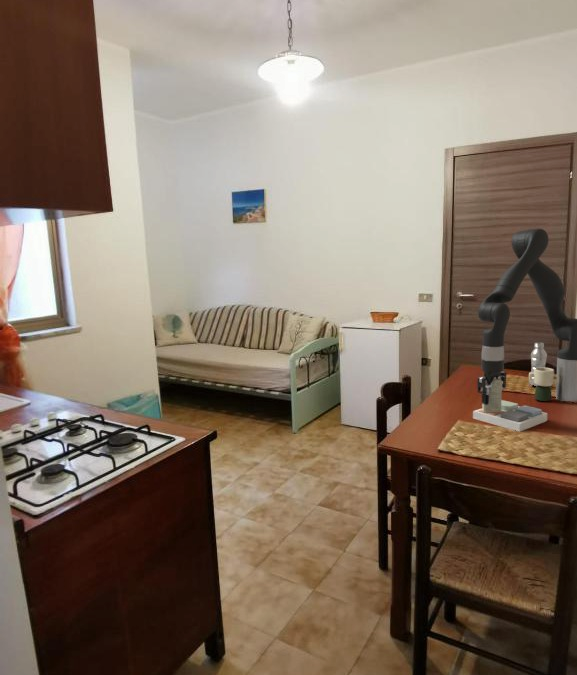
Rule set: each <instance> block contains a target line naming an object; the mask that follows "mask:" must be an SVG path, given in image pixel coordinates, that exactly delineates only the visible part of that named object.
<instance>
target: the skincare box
mask: <svg viewBox="0 0 577 675" xmlns="http://www.w3.org/2000/svg"><path fill="white" fill-rule="evenodd" d="M502 384H503V381H502V380H501V379H496V380H495V382H494V384H493V387H492V389H490V391H489V394H488V395H489V404H487V405H485V404H482V403H481V407H482V409H483V412H496V413H497V412H500V413H501V400H502V394H503V393H502V391H503V390H502ZM486 386H489V384H488V383H487V380H486ZM486 390H487V388H486ZM501 393H502V394H501Z"/></svg>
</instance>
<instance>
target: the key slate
mask: <svg viewBox="0 0 577 675" xmlns="http://www.w3.org/2000/svg"><path fill="white" fill-rule="evenodd" d="M515 411H517V412H521V413H525V414H528V416H529V417H534V416H537V415H540V414H542V412H543V410H542V409H541V408H537V407H533V406H530V405H522V406H519V407H518V408H515Z"/></svg>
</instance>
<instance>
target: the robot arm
mask: <svg viewBox="0 0 577 675" xmlns="http://www.w3.org/2000/svg"><path fill="white" fill-rule="evenodd" d="M510 242H511V247H512V250H513V252H514V254H515V257H517V261H516V262H515V263H513V265H511V266H510V267H509V268H508V269H507V270H505V272H503V274H502V275H501V276H500V278H499V280H498V282H497V284H496V286H495V287H494V289H493V290H492V292H491V293H489V295H488V296H487V297H485V299H484V300H482V302H481V303H480V305H479V307H478V310H477V315H478V316H477V317H478V318H479V320H480V321H483V322H484V323H485V322H486V323H493V325H492V327H491V328H486V329H484V330H483V331H482V342H481V343H482V348H481V361H480V362H481V363H480V364H481V365H480V368H481V371H483V375H482V376H477V393H478V394H481V405H482V404H485V405H487V404H489V395H488V394H489V391H490V389H492V387H493V384H494V382H495V380H496V379H501V380H502V391H503V389H506V387H507V372H506V371H504V370H505V369H504V368H505V348H504V347H505V344H504V342H505V341H504V340H505V332H506V331H507V330H506V329H507V326H508V323H509V320H510V316H511V310H510V308H509V306H508V305H507V304H506V303H510V302H511V301H513V299H514V298H515V296H516V293H517V292H518V290H519V287H520V286H521V284H522V282H523V280H524V279H525V278H526V276H528V277H529V279H530V281H531V282H532V285H533V287H534V290H535V292H536V294H537V296H538V298H539V300H540V301H541V304H542V305H543V306H542V307H543V308H544V310H545V313H546V315H547V317H548V321H549V324H550V327H551V329H552V332H553V334H554V336H555V337H556V338H557V339H559V340H561V341H565V342H568V346H567V347H566V348H561V349H559V350H557V354H556V374H557V375H559V382H558V383H556V382H555V397H556V398H555V400H557V399H558V400H557V401H559V400H561V401H560V402H563V401H577V318H571V317H568V316H567V314H566V313H565V312H564V308H563V303H564V299H565V297H566V289H565V286H564V283H563V282H562V280H561V277H560V276H559V274H558V273H557V272H555V271H554V269H552V268H551V267H549V266H548V265H546V264H545V263H544V262H542V261H541V259H540V257H542V255H543V254H544V252H545V251H546V249H547V247H548V245H549V235H548V232H547V231H546V230H545V229H544V228H532V229H525V230H519V231H516V232H515V233H514V234H513V235H512V237H511V241H510ZM556 378H557V377H555V379H556ZM486 380H487V383H488V384H489V386H486ZM486 388H487V390H486ZM502 394H503V393H501V395H502Z"/></svg>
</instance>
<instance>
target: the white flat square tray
mask: <svg viewBox="0 0 577 675" xmlns="http://www.w3.org/2000/svg"><path fill="white" fill-rule="evenodd" d="M518 407H520V406H519V405H518ZM479 410H482V408H479V409H475V410H473V411H472V419H474V420H477V421H481V422H484V423H488V424H491V425H495V426H498V427H502V428H505V429H508V430H511V431H515V430H516V431H515V432H518V431H519V432H523V431H526V430H528V429H530V428H532V427H536V426H537V425H540V424H543V423H545V422H547V421H548V412H543V411H542V414H540V415H537V416H534V417H529V416H528V419H526V420H524V421H521V422H515V421H511V420H508V419H504V418H501V414H499V415H496V416H493V415H489V414H485V413H482V412H479ZM501 411H504V412H507V411H505V410H501ZM513 411H515V409H514V410H513ZM519 432H518V433H519Z"/></svg>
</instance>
